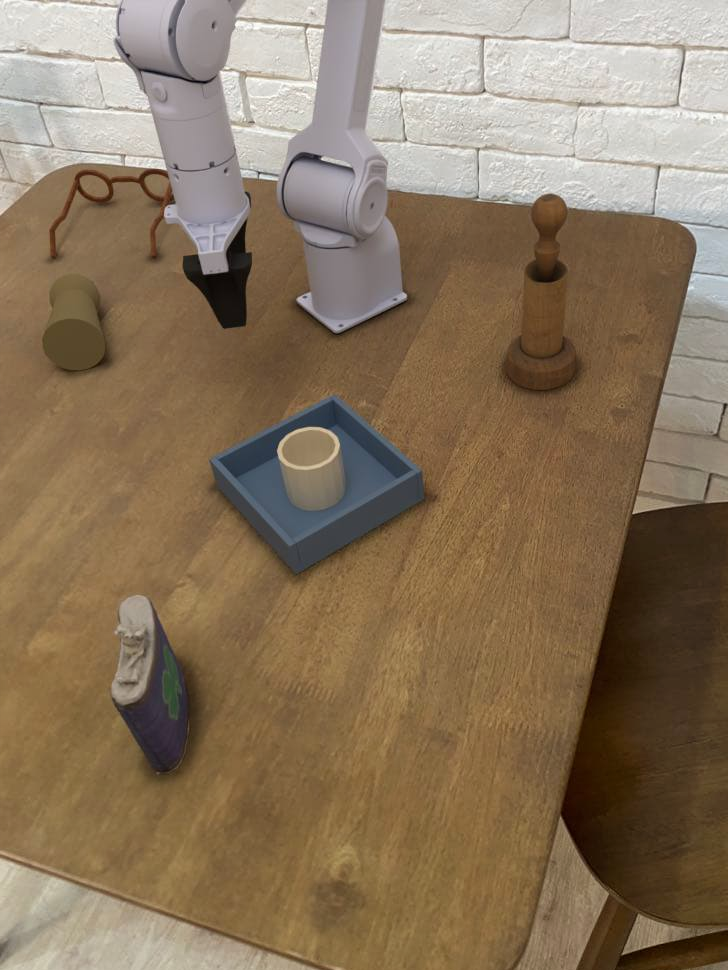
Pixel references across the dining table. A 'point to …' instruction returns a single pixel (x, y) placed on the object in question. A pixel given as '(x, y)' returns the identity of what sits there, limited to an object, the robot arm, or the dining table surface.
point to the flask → (150, 686)
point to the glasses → (107, 198)
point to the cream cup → (312, 468)
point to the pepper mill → (74, 324)
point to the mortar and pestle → (543, 308)
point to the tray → (316, 534)
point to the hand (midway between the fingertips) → (234, 300)
